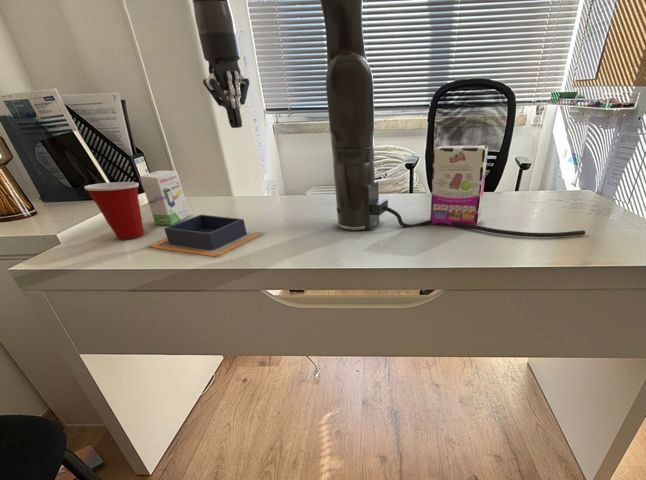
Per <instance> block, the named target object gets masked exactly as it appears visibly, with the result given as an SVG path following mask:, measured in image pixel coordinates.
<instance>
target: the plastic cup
mask: <svg viewBox="0 0 646 480" xmlns="http://www.w3.org/2000/svg"><path fill="white" fill-rule="evenodd" d="M139 186H140V184H139V182H134V181H114V182H101V183H94V184H88V185H85V186H83V187H84V189H85V191H87V192H88V194H89V195H90V197H91V198H92V200H93V202H94V203H95V204H96V206H97V208H98V209H99V211H100V212H101V214H102V216H103V217H104V219H105V221H106V222H107V224H108V226H109V227H110V228H111V230H112V231H113V233H114V235H115V236H116V237H117V239H118V240H123V241H125V240H132V239H138V238H140V237H142V236H144V235H145V233H144V232H145V231H144V230H145V229H144V225H143V221H142V220H143V219H142V212H141V207H140V202H139V201H140V200H139V191H138V190H139Z"/></svg>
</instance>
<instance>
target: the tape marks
mask: <svg viewBox="0 0 646 480" xmlns="http://www.w3.org/2000/svg"><path fill="white" fill-rule="evenodd" d="M260 235H261V234H260V233H255V234H252V235H251V236H249V237H247V238H244V239H243V240H240V241H239V242H237V243H235V244H233V245H230V246H229V247H227V248H225V249H223V250H221V251H219V252H217V253H213V252H206V251H199V250H193V249H192V250H191V249H185V248H178V247H170V246H163V244H165V243H167V242H168V239H167V238H165V239H164V240H162V241H159V242H156V243H154V244H151V245H148V248H152V249H153V248H154V249H160V250H167V251H174V252H181V253H188V254H195V255H201V256H208V257H214V258H215V257H216V258H218V257H219V256H221V255H223V254H226V253H228V252H230V251H231V250H233V249H236V248H237V247H239V246H241V245H243V244H245V243H247V242H249V241H251V240H253V239H255V238H257V237H258V236H260Z"/></svg>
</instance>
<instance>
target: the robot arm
mask: <svg viewBox="0 0 646 480" xmlns="http://www.w3.org/2000/svg"><path fill="white" fill-rule="evenodd" d="M319 3H320V7H321V11H322V16H323V23H324V28H325V42H326V43H325V45H326V73H325V90H326V91H325V92H326V100H327V101H326V102H327V113H328V122H329V132H330V133H329V134H330V143H331V152H332V153H331V155H332V167H333V177H334V178H333V179H334V189H335V191H334V192H335V201H336V202H335V203H336V207H335V208H336V213H337V226H338V229H339V228H340V229H342V230H345V231H370V230H372V229H373V228H375V227H376V226H377V225H378V224H380V216H381V215H383V214H384V213H385V212H388V213H390V214H392V215H394V216H395V217H396V218H397V221H398V224H399V225H400V226H401V227H402V228H414V227H421V226H427V225H433V224H432V223H433V221H431V220H430V219H428V220H425V221H421V222H418V223H413V224H408V223H406V222H404V221H403V219H402V216H401V215H400V213H398V211H396V210H394V209H392V208H391V207H389V199H387V198H380V195H379V192H380V191H379V181H377V180H376V170H375V169H376V168H375V96H374V95H375V94H374V77H373V72H372V69H371V67H370V64H369V63H368V60H367V54H366V53H367V52H366V47H365V46H366V45H365V38H364V31H363V0H319ZM192 5H193V12H194V19H195V24H196V28H197V34H198V38H199V42H200V46H201V50H202V55H203V59H204V60H205V61H207V62H208V73H209V75H208V77H207V78H204V79H203V80H202V83H203V85H204V87H205V88H206V90H207V91H208V93H209V94H210V95H211V97H212V98H213V100H214V101H215V102H216V104H217V105H218V106H219V107H222V108H224V109H225V110H226V114H227V118H228V123H229V126H230V128H231V129H239V128H242V127H243V120H242V119H243V118H242V114H241V107H242V106H243V105H245V104H246V101H247V95H248V92H249V86H250V80H249V78H248V77H247V78H245V77H244V76H243V75H242V72H241V68H240V66H239V63H238V61H240V59H241V53H240V48H239V47H240V46H239V42H238V37H237V32H236V25H235V20H234V16H233V12H232V9H231V4H230V1H229V0H192ZM451 224H452V225H455V226H454V227H460V228H464V229H469V230H476V231H482V232H486V233H491V234H498V235H505V236H513V237H526V238H561V237H562V238H563V237H572V236H584V235H585V234H586V231H585V230H572V231H562V232H561V231H560V232H528V231H517V230H508V229H507V230H506V229H500V228H492V227H487V226H482V225H471V224H465V223H460V222H452V223H451Z"/></svg>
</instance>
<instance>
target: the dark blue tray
mask: <svg viewBox="0 0 646 480" xmlns="http://www.w3.org/2000/svg"><path fill="white" fill-rule="evenodd" d="M163 230H164V233H165V235H166V239H168V241H167V242H168V244H172V245H177V246H184V247H191V248H198V249H204V250H205V249H206V250H211V251H213V250H216V249H219V248H221V247H223V246H225V245H227V244H229V243H231V242H234V241H236V240H237V239H239V238H241V237H244V236H245V235H248V233H247V228H246V223H245V220H244V218H236V217H228V216H227V217H225V216H217V215H208V214H198V215H196V216H193V217H191V218H188V219H185V220H181V221H178V222H176V223H175V224H173V225H167V226H165V227H164V228H163Z"/></svg>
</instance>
